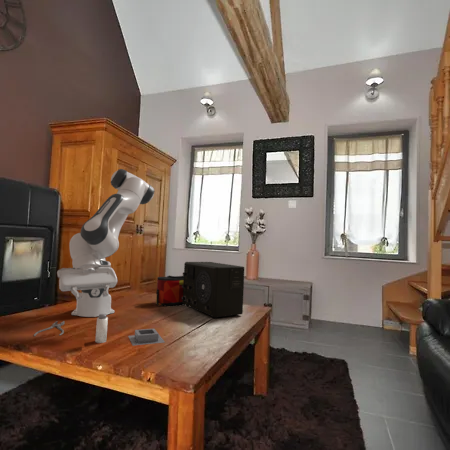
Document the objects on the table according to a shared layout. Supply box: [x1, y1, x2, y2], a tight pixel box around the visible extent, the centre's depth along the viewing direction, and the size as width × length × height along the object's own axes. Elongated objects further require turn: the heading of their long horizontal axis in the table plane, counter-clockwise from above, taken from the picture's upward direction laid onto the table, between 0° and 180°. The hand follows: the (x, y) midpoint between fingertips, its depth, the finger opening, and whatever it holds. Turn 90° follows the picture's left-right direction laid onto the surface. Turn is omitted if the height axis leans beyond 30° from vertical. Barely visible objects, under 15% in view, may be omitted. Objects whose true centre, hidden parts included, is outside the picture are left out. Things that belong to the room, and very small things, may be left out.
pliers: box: [33, 320, 65, 337], centre depth 119 cm, size 10×1×20 cm
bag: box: [155, 275, 186, 307], centre depth 180 cm, size 30×14×16 cm, turn 132°
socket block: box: [128, 328, 166, 346], centre depth 109 cm, size 11×11×4 cm
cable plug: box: [95, 314, 109, 344], centre depth 105 cm, size 4×4×9 cm
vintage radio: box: [181, 261, 245, 319], centre depth 165 cm, size 38×20×25 cm, turn 34°
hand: (93, 297), depth 111 cm, fingers open, 8 cm apart
